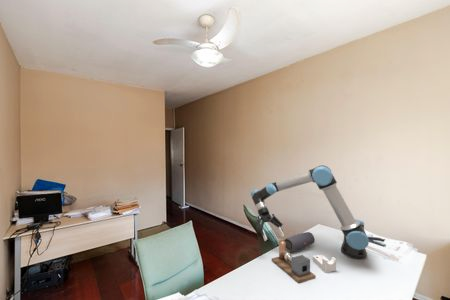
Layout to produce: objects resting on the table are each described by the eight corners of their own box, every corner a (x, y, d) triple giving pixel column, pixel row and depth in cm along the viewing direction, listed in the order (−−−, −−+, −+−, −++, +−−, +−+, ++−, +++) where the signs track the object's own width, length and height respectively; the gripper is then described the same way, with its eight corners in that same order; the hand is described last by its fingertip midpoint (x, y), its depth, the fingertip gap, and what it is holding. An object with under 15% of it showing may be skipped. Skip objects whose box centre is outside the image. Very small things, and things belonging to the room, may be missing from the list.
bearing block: (291, 271, 119) (291, 257, 119) (302, 268, 122) (302, 254, 122) (298, 277, 114) (299, 263, 113) (310, 274, 117) (310, 259, 117)
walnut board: (271, 260, 133) (271, 258, 133) (286, 257, 138) (286, 254, 138) (298, 283, 111) (298, 280, 111) (315, 277, 116) (315, 275, 116)
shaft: (277, 257, 133) (277, 241, 133) (283, 255, 135) (283, 239, 135) (295, 271, 118) (296, 253, 118) (302, 270, 120) (302, 251, 120)
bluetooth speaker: (293, 255, 140) (293, 240, 139) (283, 249, 148) (283, 235, 147) (315, 247, 151) (315, 233, 151) (304, 242, 159) (304, 229, 159)
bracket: (336, 272, 122) (336, 259, 121) (325, 273, 120) (325, 260, 120) (322, 260, 134) (322, 248, 134) (312, 261, 133) (312, 249, 133)
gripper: (274, 210, 160) (287, 237, 146) (245, 214, 150) (256, 243, 136) (278, 205, 155) (292, 233, 141) (249, 208, 145) (260, 239, 131)
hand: (274, 238), depth 139 cm, fingers open, 13 cm apart
